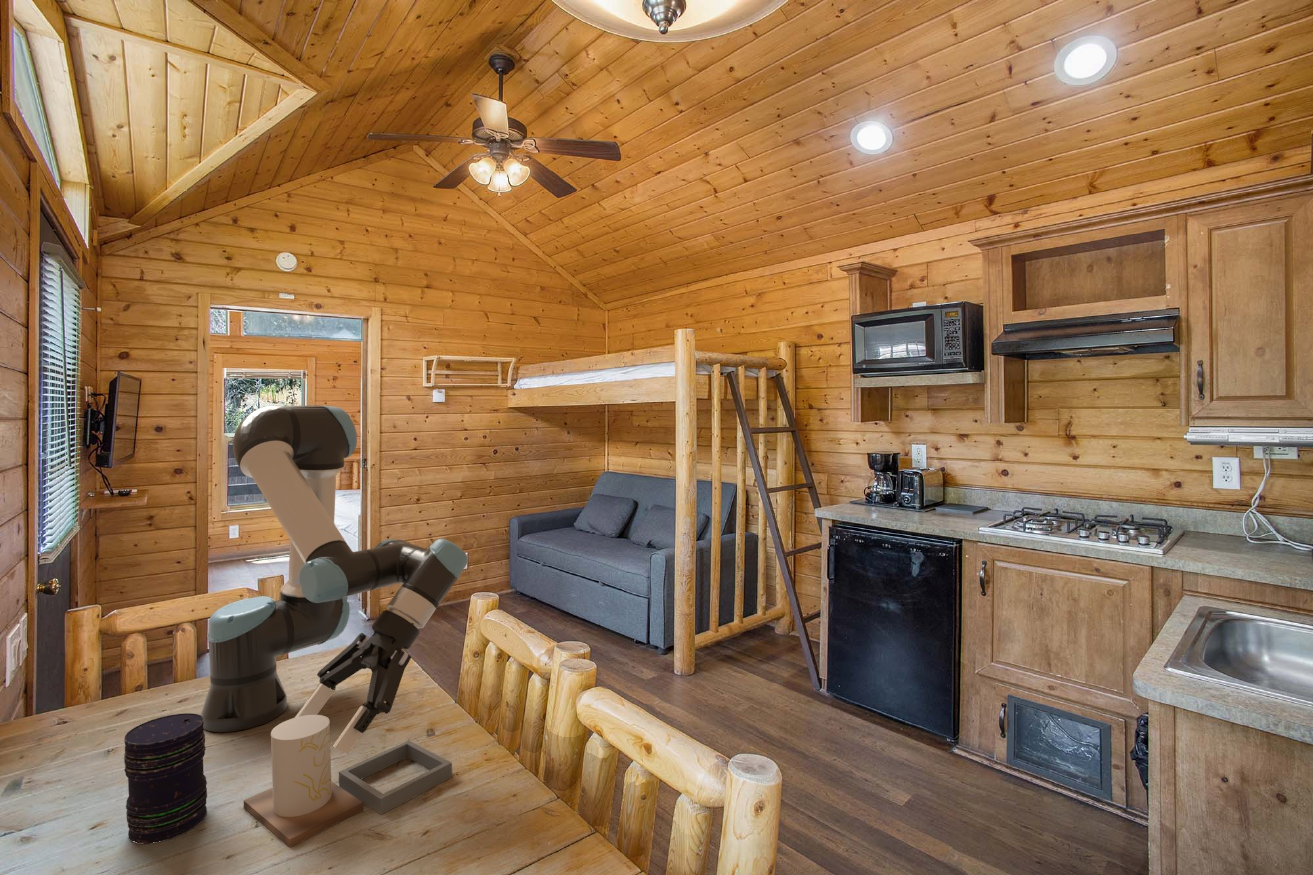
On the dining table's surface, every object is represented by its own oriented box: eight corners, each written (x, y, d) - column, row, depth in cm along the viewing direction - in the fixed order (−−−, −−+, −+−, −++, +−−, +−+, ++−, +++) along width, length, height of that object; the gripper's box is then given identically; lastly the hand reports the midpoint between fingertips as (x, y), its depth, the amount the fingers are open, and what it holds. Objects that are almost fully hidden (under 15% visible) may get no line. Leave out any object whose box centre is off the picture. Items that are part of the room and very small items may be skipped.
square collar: (339, 786, 109) (338, 771, 109) (409, 753, 119) (408, 740, 119) (381, 814, 101) (380, 799, 101) (452, 776, 111) (451, 762, 111)
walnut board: (243, 807, 103) (243, 800, 103) (314, 776, 112) (314, 769, 112) (289, 847, 94) (289, 839, 94) (363, 809, 102) (362, 802, 102)
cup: (306, 819, 98) (304, 742, 98) (260, 813, 100) (258, 737, 99) (342, 788, 106) (340, 717, 105) (299, 783, 108) (297, 712, 107)
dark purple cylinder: (143, 853, 93) (139, 751, 92) (115, 830, 98) (111, 733, 97) (220, 816, 101) (216, 722, 100) (190, 796, 106) (187, 707, 106)
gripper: (458, 645, 110) (376, 771, 98) (380, 616, 125) (301, 722, 114) (430, 623, 105) (340, 752, 94) (352, 595, 120) (268, 704, 109)
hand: (319, 736), depth 104 cm, fingers open, 13 cm apart
